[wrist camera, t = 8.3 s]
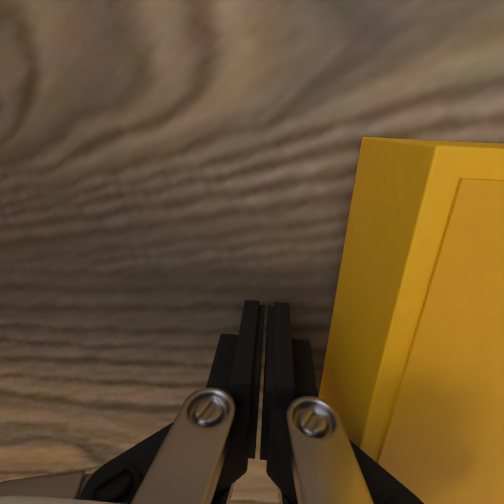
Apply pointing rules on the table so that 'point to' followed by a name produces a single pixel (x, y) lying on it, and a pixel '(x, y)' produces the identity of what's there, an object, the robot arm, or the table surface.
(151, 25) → the table surface
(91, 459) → the table surface
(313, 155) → the table surface
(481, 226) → the case
